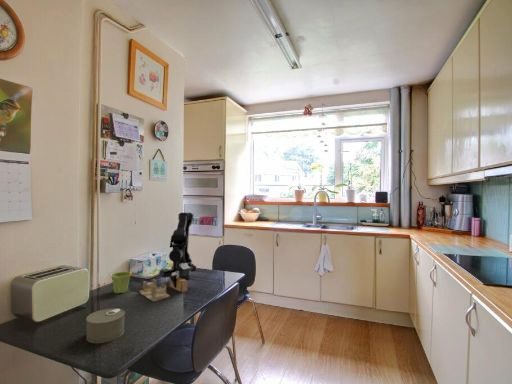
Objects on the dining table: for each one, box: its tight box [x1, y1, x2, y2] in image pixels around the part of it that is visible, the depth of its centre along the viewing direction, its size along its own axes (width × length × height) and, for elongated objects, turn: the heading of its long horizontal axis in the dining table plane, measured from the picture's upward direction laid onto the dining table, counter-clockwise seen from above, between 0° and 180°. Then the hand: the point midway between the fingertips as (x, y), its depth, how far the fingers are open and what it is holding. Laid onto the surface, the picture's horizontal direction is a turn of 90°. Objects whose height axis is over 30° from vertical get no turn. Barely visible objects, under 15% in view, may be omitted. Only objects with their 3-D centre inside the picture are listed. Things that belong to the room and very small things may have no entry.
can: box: [85, 307, 126, 344], centre depth 96 cm, size 12×12×7 cm
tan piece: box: [139, 278, 170, 302], centre depth 133 cm, size 15×8×6 cm, turn 46°
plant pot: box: [110, 271, 132, 294], centre depth 137 cm, size 9×9×9 cm
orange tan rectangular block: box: [168, 275, 188, 294], centre depth 142 cm, size 13×3×6 cm, turn 46°
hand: (178, 286), depth 142 cm, fingers closed on orange tan rectangular block, 3 cm apart
